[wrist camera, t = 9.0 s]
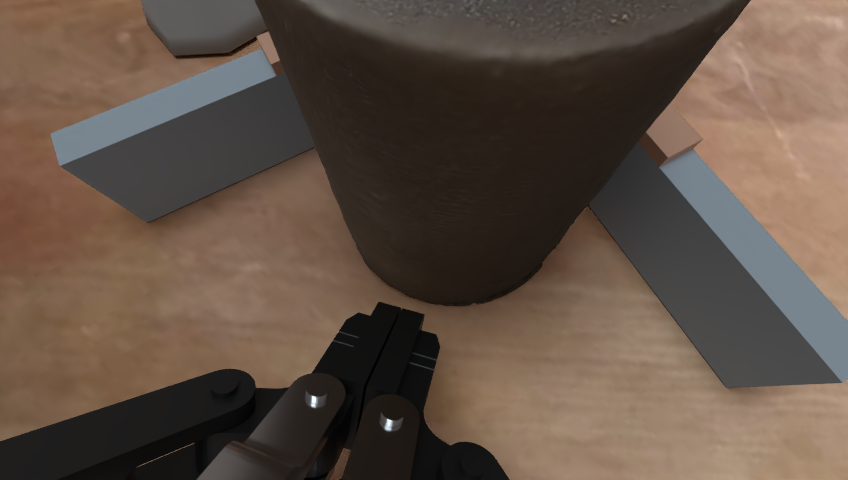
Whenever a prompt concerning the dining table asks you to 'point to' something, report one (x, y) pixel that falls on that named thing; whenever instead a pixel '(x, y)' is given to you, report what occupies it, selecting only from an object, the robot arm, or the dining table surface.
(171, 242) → the dining table surface
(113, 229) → the dining table surface
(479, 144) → the pillar candle
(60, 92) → the dining table surface
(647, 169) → the corner arena
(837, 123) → the dining table surface
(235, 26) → the flask
